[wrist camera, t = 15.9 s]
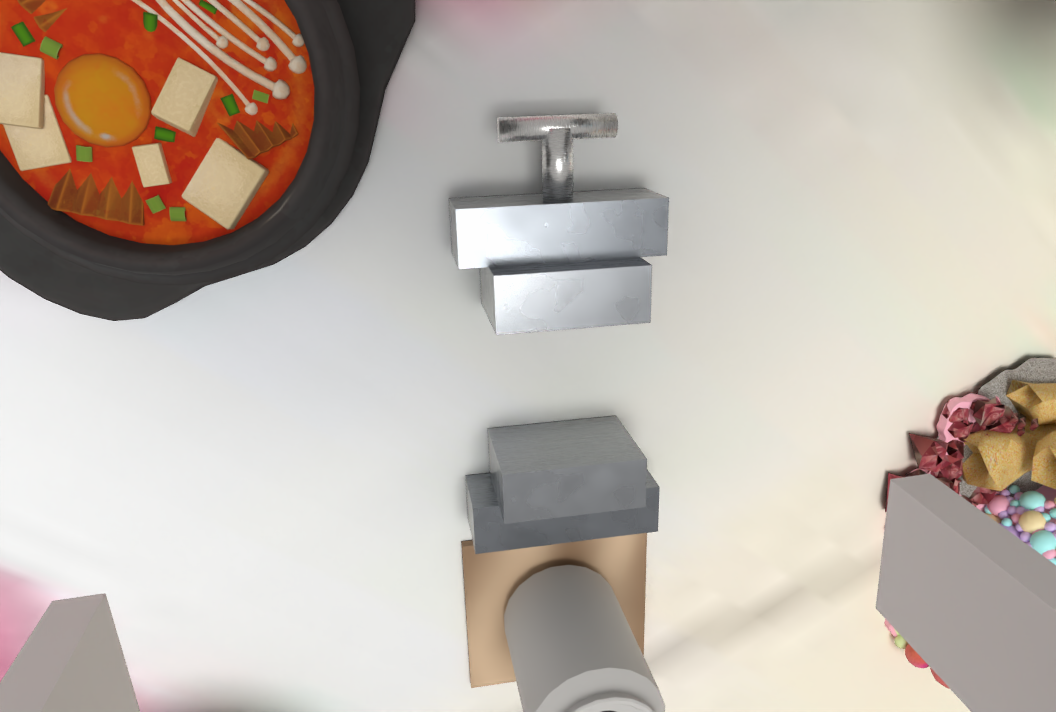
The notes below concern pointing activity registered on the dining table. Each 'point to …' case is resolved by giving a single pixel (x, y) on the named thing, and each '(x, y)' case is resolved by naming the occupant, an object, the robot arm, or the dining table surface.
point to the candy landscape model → (998, 458)
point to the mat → (504, 571)
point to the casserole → (180, 138)
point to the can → (576, 646)
